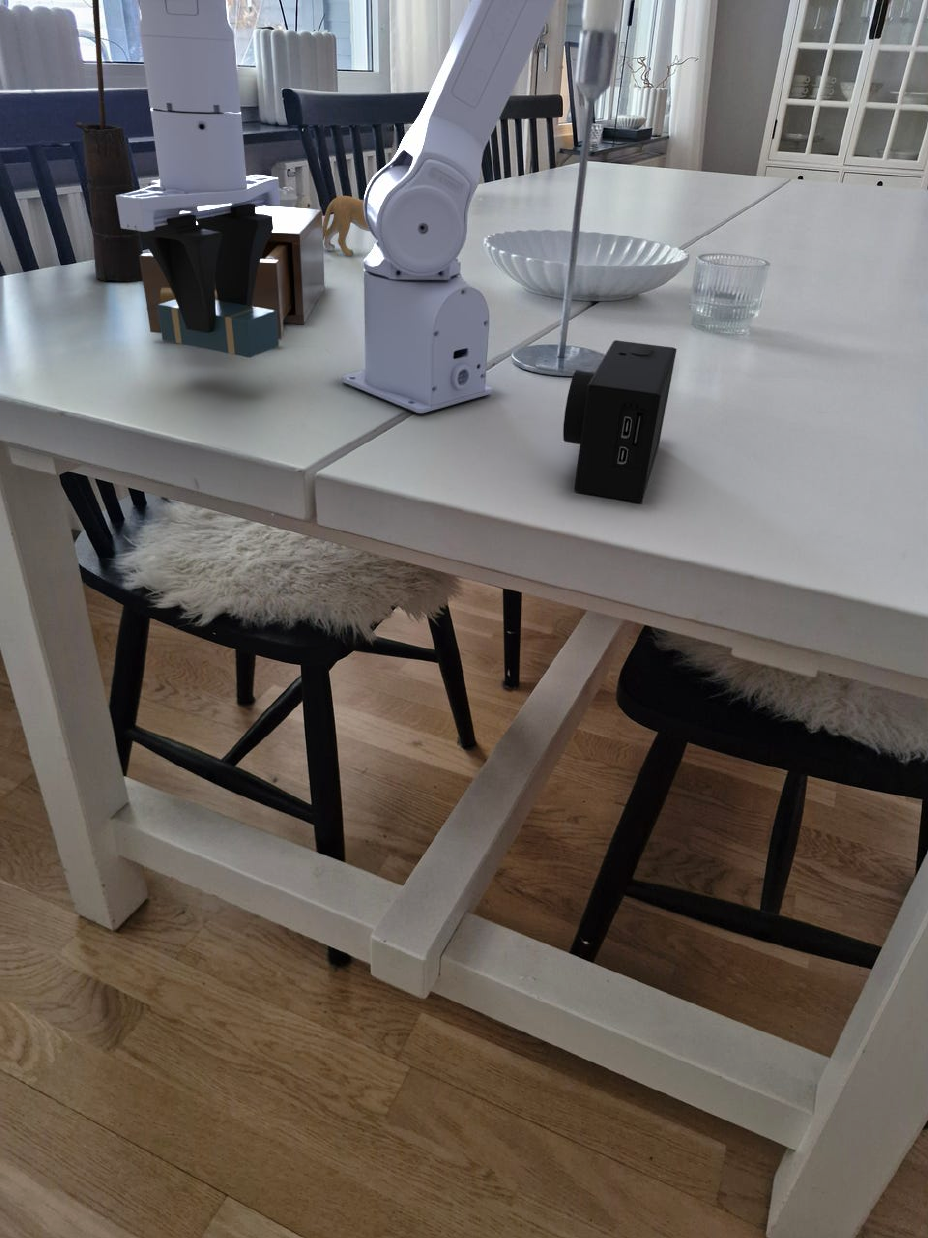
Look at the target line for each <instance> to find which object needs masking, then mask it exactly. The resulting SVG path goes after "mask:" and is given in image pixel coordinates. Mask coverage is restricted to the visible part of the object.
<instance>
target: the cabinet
mask: <svg viewBox="0 0 928 1238" xmlns="http://www.w3.org/2000/svg"><path fill="white" fill-rule="evenodd" d="M203 207H209V206H203ZM203 207H198V208H203ZM256 213H261V214H268V215H271V216H273V227H274V229H273V231H272V233H271V235H270V237H269V239H268V241H273V242H292V259H293V277H294V295H295V304H294V305H293V307H292V308H291V310H290V311H289V313H288V314H287V316H286V317H285V319H284V320H283V324H290V325H291V324H292V325H305V323H306V322H307V320H308V318H309V317H310V315H311V313H312V311H313V310H314V308H315V307H316V305H317V303H318V302H319V300H320V298H321V297H322V295H323V293H324V291H325V289H326V288H325V264H324V262H325V259H324V240H323V230H322V227H323V209H320V208H305V207H302V208H301V207H294V208H287V207H267V206H263V207H257V208H256ZM197 225H198V223H197Z"/></svg>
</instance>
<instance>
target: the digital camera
mask: <svg viewBox="0 0 928 1238" xmlns="http://www.w3.org/2000/svg"><path fill="white" fill-rule="evenodd" d="M676 355H677V348H675V347H672V346H665V345H664V346H663V345H658V344H657V345H656V344H648V343H640V342H632V341H626V340H625V341H624V340H618V339H615V340H613V341H612V343H611V344H610V346H609V348H608V350H607V351H606V353H605V354H604V356H603V358H602V359H601V361H600V363H599V365H598V366H597V369H596V370H595V372H593V371H587V370H586V371H585V370H580V369H576V370H575V371H574V373H573V375H572V378H571V381H570V384H569V388H568V393H567V396H566V402H565V403H566V404H565V410H564V416H563V425H562V426H563V427H562V431H563V432H562V436H563V437H562V438H563V442H565V443H569V444H570V443H571V444H577V445H579V450H578V456H577V457H578V458H577V466H576V473H575V481H574V491H575V492H576V493H581V494H587V495H593V496H598V497H604V498H611V499H617V500H621V501H623V500H624V501H628V502H635V503H637V504H638V503H639V504H643V501H644V497H645V494H646V490H647V487H648V483H649V480H650V478H651V473H652V470H653V467H654V463H655V461H656V456H657V453H658V450H659V447H660V443H661V436H662V432H663V425H664V420H665V415H666V410H667V403H668V399H669V393H670V389H671V382H672V378H673V377H672V376H673V371H674V367H675V366H674V365H675V361H676V360H675V359H676Z"/></svg>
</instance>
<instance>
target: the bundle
mask: <svg viewBox="0 0 928 1238" xmlns="http://www.w3.org/2000/svg"><path fill="white" fill-rule="evenodd" d="M215 305H216V317H215V327H214V331H213V332H210V333H205V332H199V331H194V330H189V329H187V328H186V325H185V323H184V320H183V318H182V315H181V312H180V310H179V307H178V304H177V302H176V299H175V300H172V301H168V302H165V303H161V304H158V312H159V319H160V326H161V333H160V334H161V339H162V341H166V342H171V343H175V344H180V345H186V346H189V347H195V348H200V349H205V350H209V351H216V352H220V353H225V354H229V355H234V356H239V357H245V358H249V359H250V358H253V357H255V356H258V355H260V354H262V353H266V352H267V351H270V350H272V349H275V348H278V347H279V346H280V342H279V340H280V339H278V326H277V312H276V311H275V310H269V309H264V308H259V307H252V306H247V305H241V304H236V303H230V302H225V301H219V300H215Z"/></svg>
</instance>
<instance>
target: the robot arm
mask: <svg viewBox="0 0 928 1238" xmlns="http://www.w3.org/2000/svg"><path fill="white" fill-rule="evenodd" d="M136 1H137V5H138V8H139V10H140V16H141V19H140V21H139V25H138V26H139V28H138V29H139V35H140V43H141V51H142V59H143V67H144V75H145V80H146V87H147V95H148V103H149V108H150V109H149V110H150V118H151V125H152V131H153V139H154V147H155V156H156V162H157V163H156V164H157V170H158V177H159V178H158V179H155V180H151V181H150V185H149V186H147V187H144V188H141V189H137V190H134V192H131V193H126V194H120V195H116V201H117V207H118V213H119V220H120V226H121V228H123V229H130V230H138V232H139V237H140V238H141V242H143V244H144V245H145V246H146V248H147V249H148V250H149V253H152V255H153V256H154V258H155V259H156V261H157V263H158V264H159V266H160V268H161V270H162V271H163V273H164V275H165V277H166V279H167V281H168V283H169V285H170V288H171V290H172V292H173V294H174V297H175V299H176V302H177V304H178V307H179V310H180V312H181V315H182V318H183V320H184V323H185V325H186V328H187V329H189V330H194V331H199V332H205V333H210V332H213V331H214V327H215V317H216V305H215V285H216V291H217V297H218V300H219V301H225V302H230V303H236V304H241V305H247V306H252V300H253V293H254V287H255V281H256V276H257V271H258V267H259V263H260V260H261V257H262V254H263V251H264V248H265V246H266V244H267V241H268V239H269V237H270V235H271V233H272V231H273V229H274V227H273V216H271V215H268V214H261V213H256V208H257V207H263V206H267V207H276V206H280V194H279V187H280V182H279V181H280V180H279V177H277V176H276V177H275V176H268V175H261V174H254V175H247V170H246V169H247V167H246V157H245V143H244V133H243V120H242V119H243V118H242V112H241V111H242V109H241V108H242V107H241V96H240V85H239V84H240V83H239V73H238V62H237V61H238V60H237V49H236V48H237V47H236V37H235V35H236V34H235V30H234V28H233V27H232V25H231V24H230V18H229V6H228V0H136ZM556 1H557V0H470V2H469V4H468V6H467V9H466V11H465V13H464V15H463V18H462V20H461V22H460V24H459V26H458V29H457V30H456V33H455V35H454V38H453V40H452V42H451V45H450V46H449V49H448V51H447V53H446V56H445V58H444V60H443V61H442V64H441V66H440V69H439V71H438V73H437V76H436V79H435V80H434V82H433V85H432V87H431V90H430V92H429V93H428V96H427V99H426V101H425V103H424V105H423V108H422V109H421V111H420V113H419V115H418V116H417V118H416V119H415V121H414V123H413V124H412V125H411V127H410V128H409V130H408V131H406V134H405V135H404V137H403V139H402V141H401V143H400V144H399V148H398V150H397V152H396V153H395V155H394V156H393V158H392V159H391V160H390V162H388V163H387V164H386V165H385V166H384V167H382V168H381V169H380V170H378V171H377V172H376V173H375V174H374V175H373V177H372V178H371V179H370V181H369V183H368V185H367V186H366V189H365V193H364V197H363V200H364V216H365V220H366V223H367V226H368V228H369V230H370V231H371V232H370V231H369V232H370V233H371V235H372V236H373V237H374V238H375V240H376V243H375V244H374V246H373V249H372V250H371V252H370V253H369V254H368V255H367V256H366V257H365V258H364V259H363V299H364V300H363V302H364V303H363V305H364V308H363V310H364V311H363V312H364V315H363V316H364V370H360V371H357V372H356V371H355V372H351V373H348V374H344V375H343V376H341V378H342V379H341V381H342V383H344V384H347V385H349V386H351V387H354V388H356V389H359V390H361V391H363V392H366V393H368V394H371V395H373V396H375V397H378V398H380V399H382V400H385V401H388V402H390V403H392V404H395V405H396V406H399V407H402V408H404V409H406V410H409V411H411V412H413V413H416V414H426V413H429V412H433V411H437V410H439V409H444V408H446V407H450V406H453V405H457V404H460V403H463V402H467V401H468V402H469V401H471V400H475V399H478V398H481V397H484V396H488V395H492V394H493V387H491V386H489V385H487V384H486V381H487V380H486V379H487V367H488V366H487V365H488V349H489V336H490V335H489V333H490V309H489V306H488V302H487V300H486V297H485V296H484V294H483V293H482V292H481V291H480V290H479V289H477V288H476V287H474V286H471V285H470V284H468V283H467V282H466V281H465V279H464V278H463V275H462V274H461V271H462V270H461V269H462V262H461V261H459V258H458V257H459V255H460V254H461V252H462V250H463V248H464V246H465V242H466V240H467V235H468V213H469V208H470V204H471V202H472V199H473V196H474V195H475V193H476V190H477V188H478V187H479V182H480V179H481V172H482V171H481V170H482V163H483V156H484V151H485V148H486V146H487V144H488V143H489V141H490V139H491V136H492V134H493V132H494V130H495V128H496V126H497V123H498V121H499V120H500V118H501V115H502V113H503V111H504V109H505V107H506V106H507V103H508V101H509V99H510V97H511V95H512V92H513V90H514V89H515V87H516V84H517V82H518V80H519V78H520V76H521V74H522V72H523V70H524V68H525V66H526V63H528V60H529V58H530V55H531V53H532V51H533V49H534V47H535V45H536V43H537V41H538V40H539V39H538V38H539V36H540V35H541V33H542V31H543V28H544V27H545V24H546V22H547V20H548V18H549V16H550V14H551V13H552V9H553V7H554V6H555V4H556ZM203 206H209V207H203ZM198 207H203V208H198ZM197 223H198V225H197Z"/></svg>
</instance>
